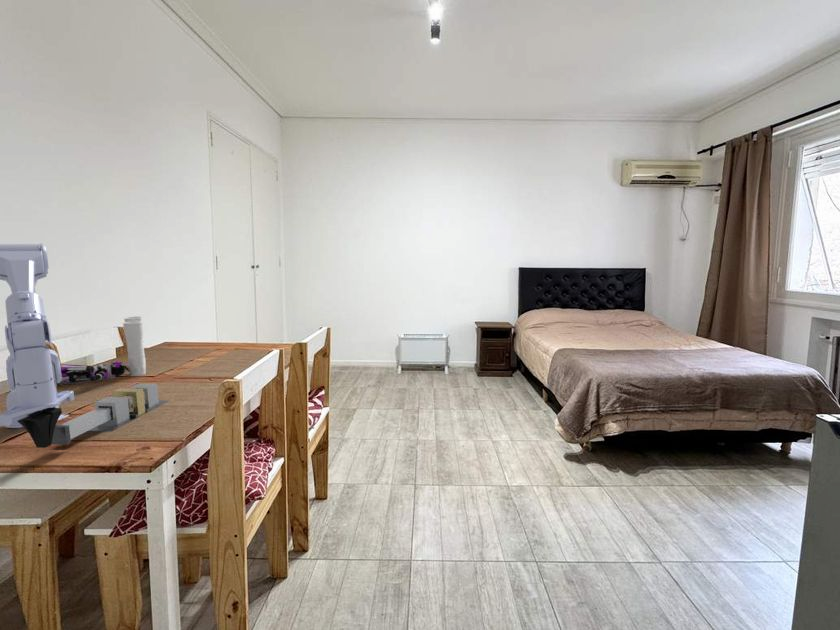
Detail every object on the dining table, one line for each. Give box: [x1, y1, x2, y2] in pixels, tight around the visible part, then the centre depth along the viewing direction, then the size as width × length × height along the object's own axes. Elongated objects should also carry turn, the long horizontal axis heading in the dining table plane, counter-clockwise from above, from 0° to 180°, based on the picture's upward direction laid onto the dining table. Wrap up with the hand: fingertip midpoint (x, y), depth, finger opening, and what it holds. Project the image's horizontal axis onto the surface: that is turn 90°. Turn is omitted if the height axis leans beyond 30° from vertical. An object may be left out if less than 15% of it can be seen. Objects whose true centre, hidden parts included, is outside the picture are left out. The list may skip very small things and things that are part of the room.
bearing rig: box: [87, 382, 169, 432], centre depth 113 cm, size 7×21×6 cm, turn 175°
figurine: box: [56, 361, 131, 385], centre depth 144 cm, size 24×7×29 cm
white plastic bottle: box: [122, 315, 147, 377], centre depth 156 cm, size 17×5×18 cm, turn 31°
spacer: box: [111, 387, 145, 417], centre depth 113 cm, size 6×2×6 cm, turn 85°
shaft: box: [51, 398, 130, 446], centre depth 102 cm, size 4×19×4 cm, turn 175°
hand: (44, 446), depth 90 cm, fingers closed
